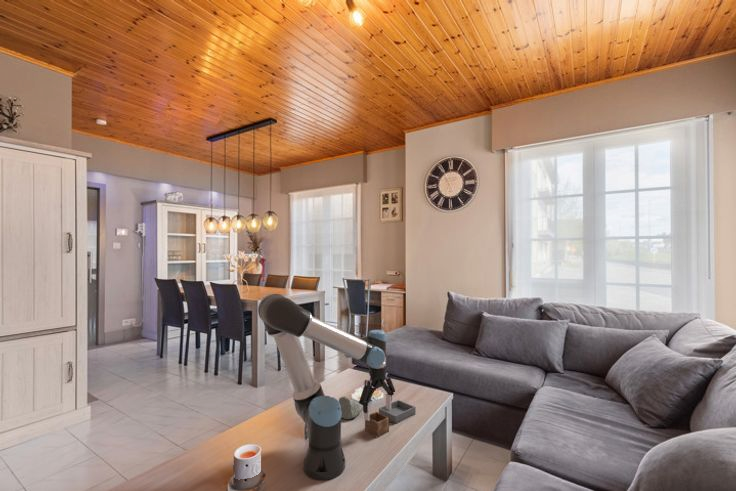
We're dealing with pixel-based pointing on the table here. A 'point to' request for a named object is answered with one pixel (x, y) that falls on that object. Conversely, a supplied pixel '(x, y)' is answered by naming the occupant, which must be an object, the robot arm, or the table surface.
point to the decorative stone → (349, 408)
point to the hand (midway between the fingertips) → (378, 414)
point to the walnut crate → (377, 424)
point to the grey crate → (398, 411)
